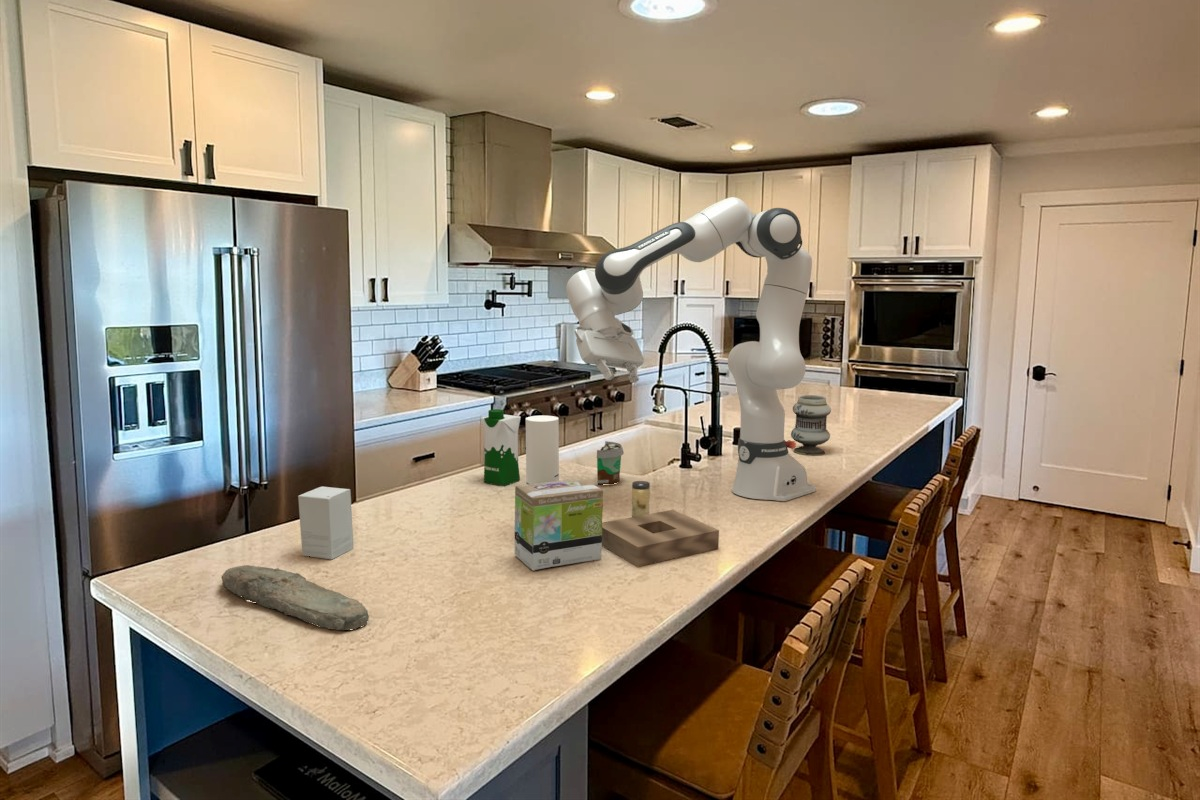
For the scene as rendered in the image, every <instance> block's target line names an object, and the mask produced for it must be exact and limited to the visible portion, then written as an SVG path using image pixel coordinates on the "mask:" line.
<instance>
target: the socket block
mask: <svg viewBox="0 0 1200 800" xmlns="http://www.w3.org/2000/svg"><path fill="white" fill-rule="evenodd" d="M719 540H720V530H719V529H717V528H716V527H713V526H710V525H709V524H706V523H704V522H702V521H699V520H697V519H694V518H693V517H690V516H688V515H686V514H683V513H681V512H680V511H677V510H675V509H669V510H664V511H658V512H653V513H649V514H647V515H641V516H636V517H632V516H631V517H627V518H620V519H616V520H615V519H614V520H611V521H605V522H604V521H602V547H603V546H604V548H605V549H607V550H608V549H609V551H610V550H611V551H610V552H611V553H613V552H614V553H613V554H615V555H617V556H618V555H619V557H621V558H622V559H623V558H624V560H625V559H626V560H625V561H627V562H629V563H630V562H631V563H630V564H632V563H633V564H632V565H634V566H635V565H636V566H635V567H637V566H639V567H643V565H644V566H648V565H652V564H651V563H653V564H656V563H655V562H657V563H660V562H659V561H662V562H666V561H669V559H670V560H673V558H675V559H678V557H679V558H683V556H684V557H688V556H693V555H696V554H700V553H701V554H702V553H704V552H710V551H714V550H718V549H719V542H720V541H719ZM692 554H693V555H692ZM665 560H666V561H665ZM647 564H648V565H647Z"/></svg>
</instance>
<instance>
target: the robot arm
mask: <svg viewBox="0 0 1200 800" xmlns="http://www.w3.org/2000/svg"><path fill="white" fill-rule="evenodd" d="M732 245H736V246H737V247H739V249H740V250H741V251H742V252H743V253H745V254H746V255H747V256H750V257H752V258H759V259H760V258H765V260H766V261H765V262H766V264H767V265H766V266H767V270H766V273H767V274H766V276H765V279H764V282H763V286H762V290H761V293H760V297H759V300H758V304H757V309H756V311H755V318H756V320H757V322H758V324H759V325H758V326H759V341H756V340H754V341H753V340H751V341H745V342H741V343H738V344H736V345H735V346H734V347H732V349H731V350H730V352H729V353H728V356H727V357H728V358H727V367H728V369H729V372H730V373H731V375H732V376H733V379H734V382H735V385H736V391H737V395H738V401H739V406H740V429H739V431H740V432H739V438H738V441H737V442H738V443H737V453H738V460H737V466H736V472H735V476H734V481H733V485H732V488H731V492H732V493H733V494H735V495H737V496H740V497H743V498H749V499H753V500H754V499H755V500H765V501H767V500H770V501H778V502H787V501H790V500H793V499H796V498H799V497H802V496H806V495H809V494H811V493H814V492H816V491H817V487H816V486H815V485H813V484H811V483H810V482H808V477H807V476H808V475H807V470H806V468H805V466H803V464H802V463H800V462H799V461H798V460H796V459H795V457H793V456H792V455H791V454H790V453H789V449H791V450H794V449H795V448H797V447H796V446H797V443H796V441H795V440H794V441H793V440H785V439H784V438H785V420H786V411H785V408H784V406H783V404H782V402H781V401H780V399H779V396H778V392H777V390H789V389H792V388H795V387H797V386H798V385H799V384H800V383H801V382H802V381H803V379H804V377H805V374H806V368H807V367H806V361H805V359H804V357H803V356H802V353H801V350H800V349H801V348H800V324H801V319H802V316H803V312H804V307H805V303H806V300H807V296H808V293H809V288H810V284H811V278H812V268H813V259H812V256H811V255H810V253H809V252H808V251H807V250H805V249H804V248H802V246H803V239H802V228H801V222H800V220H799V217H798V216H797V215H796V214H795V213H794V212H793V211H792V210H790V209H788V208H783V207H773V208H771V209H767V210H763V211H761V212H758V213H755V212H752V210H751V209H750V208H749V206H748V204H747V203H746V202H745V201H744V200H742V199H740V198H739V197H737V196H736V197H735V196H731V197H727V198H725V199H721V200H718V201H717V202H715V203H713V204H711V205H710V206H707V207H705V208H704V209H702V210H701V211H699V212H697V213H696V214H694V215H692V216H691V217H689V218H687V219H685V220H683V221H677V222H674V223H672V224H670V225H668V226H666V227H663V228H662V229H659V230H657V231H656V232H654V233H652V234H650V235H648V236H646V237H644V238H642V239H639V240H638V241H637V242H635V243H632V244H630V245H628V246H625V247H620V248H616V249H613V250H610V251H607V252H606V253H604V254H603V255H601V256H600V258H599V259H598V261H597V262H596V265H595V267H594V271H591V270H589V269H582V270H580V271H577V272H576V273H574V274H573V275H572V276H571V277H570V278H569V279H568V281H567V283H566V287H565V289H566V290H565V291H566V297H567V300H568V302H569V306H570V308H571V310H572V313H573V315H574V316H575V317H576V318H577V320H578V324H579V326H576V328H575V329H574V335H575V337H576V338H575V339H576V340H575V342H576V346H577V349H578V353H579V355H580V358H581V360H582V361H583V362H584V363H585V364H589V365H595V366H596V368H597V370H598V371H599V372H600V373H601V374H602V375H603V377H604V379H605V380H607V381H611V380H612V379H614V378H615V374H614V371H613V370H612V369H610V368H609V367H612V368H619V369H626V370H627V372H628V373H629V376H627V378H628V380H629V382H630V384H631V383H632V384H636V383H637V382H639V380H640V378H639V375H638V368H640V367H641V366H642V365H643V364H644V362H645V359H644V356H643V353H642V350H641V348H640V346H639V344H638V342H637V340H636V339H635V337H633V335H634V331H633V328H632V327H630V326H628V325H626V324H625V323H624V322H622V321H621V320H620V319H619V318H618V317H616V316H617V315H621V314H625V313H629V312H631V311H633V310H635V309H636V308H637V307H638V306H639V305H640V304H641V302H642V300H643V296H644V291H643V286H642V281H641V277H640V276H641V274H642V273H643V271H645V269H646V268H649V267H650V266H653V265H654V264H656V263H657V262H660V261H661V260H664V259H665V258H667V257H669V256H671V255H674V254H675V255H676V254H679V255H680V256H682V257H683V258H684V259H686V260H688V261H690V262H692V263H693V262H694V263H703V262H705V261H708V260H709V259H712V258H714V257H715V256H717V255H718V254H720V253H722V252H723V251H724V250H726V249H727V248H729V247H730V246H732Z"/></svg>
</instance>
